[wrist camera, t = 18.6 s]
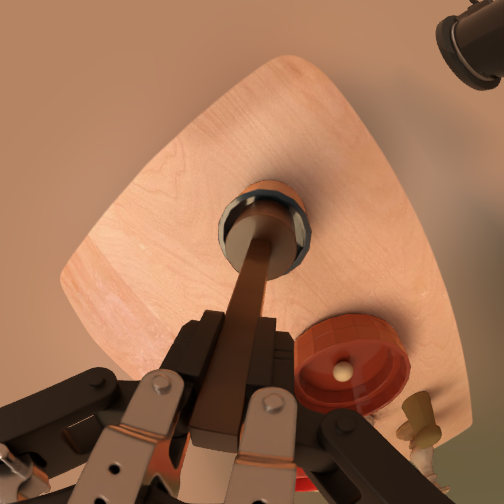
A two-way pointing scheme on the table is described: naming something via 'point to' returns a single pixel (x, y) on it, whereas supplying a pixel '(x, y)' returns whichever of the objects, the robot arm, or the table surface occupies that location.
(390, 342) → the bowl
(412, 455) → the candle holder
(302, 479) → the flower pot
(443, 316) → the table surface
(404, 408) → the brown peg figure
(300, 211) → the crock
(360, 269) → the table surface
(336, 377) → the dough ball
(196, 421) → the wooden pestle
